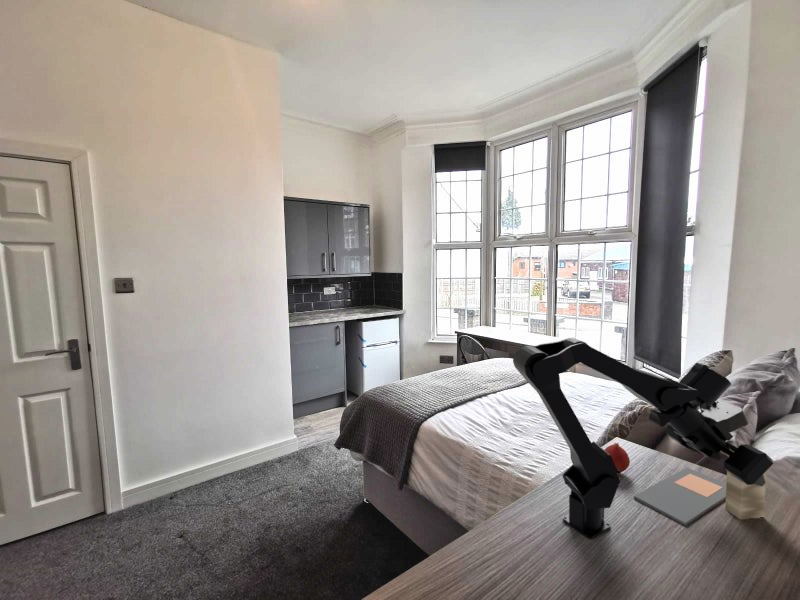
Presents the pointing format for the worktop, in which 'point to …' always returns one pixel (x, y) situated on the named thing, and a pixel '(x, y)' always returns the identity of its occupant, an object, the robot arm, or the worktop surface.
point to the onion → (618, 456)
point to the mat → (684, 495)
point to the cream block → (745, 498)
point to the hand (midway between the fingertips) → (739, 470)
